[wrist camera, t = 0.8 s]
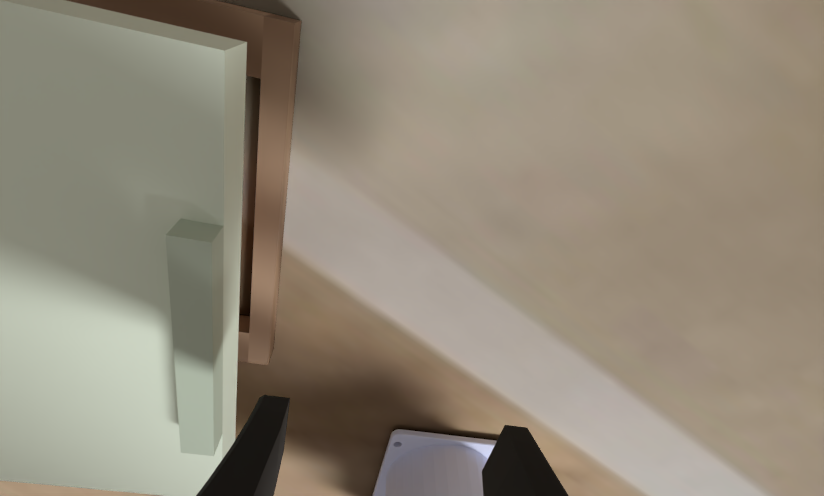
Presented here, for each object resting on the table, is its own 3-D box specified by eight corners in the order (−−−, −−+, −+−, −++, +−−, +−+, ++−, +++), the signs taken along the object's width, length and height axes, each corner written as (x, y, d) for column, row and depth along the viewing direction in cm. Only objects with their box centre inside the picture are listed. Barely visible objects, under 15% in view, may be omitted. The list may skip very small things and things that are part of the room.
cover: (234, 463, 18) (214, 523, 16) (-40, 435, 17) (-99, 496, 15) (246, 42, 10) (209, 56, 8) (-278, -79, 9) (-478, -97, 7)
